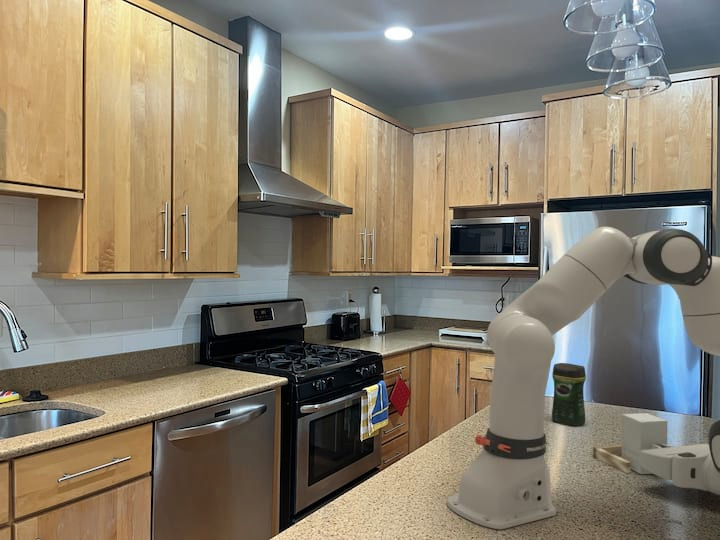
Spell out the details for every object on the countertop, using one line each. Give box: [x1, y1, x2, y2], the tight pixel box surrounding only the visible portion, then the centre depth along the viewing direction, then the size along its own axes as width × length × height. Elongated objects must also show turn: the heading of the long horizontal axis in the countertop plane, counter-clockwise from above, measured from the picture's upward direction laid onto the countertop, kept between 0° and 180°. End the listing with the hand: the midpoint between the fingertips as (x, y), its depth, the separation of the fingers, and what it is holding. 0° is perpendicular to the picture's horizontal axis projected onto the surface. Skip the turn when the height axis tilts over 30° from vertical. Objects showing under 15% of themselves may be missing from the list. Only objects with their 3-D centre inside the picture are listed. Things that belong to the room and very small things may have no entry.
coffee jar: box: [551, 362, 587, 427], centre depth 169 cm, size 10×8×19 cm
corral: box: [592, 443, 632, 474], centre depth 135 cm, size 11×12×2 cm
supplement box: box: [620, 412, 668, 475], centre depth 131 cm, size 7×7×13 cm
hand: (656, 447), depth 127 cm, fingers closed
